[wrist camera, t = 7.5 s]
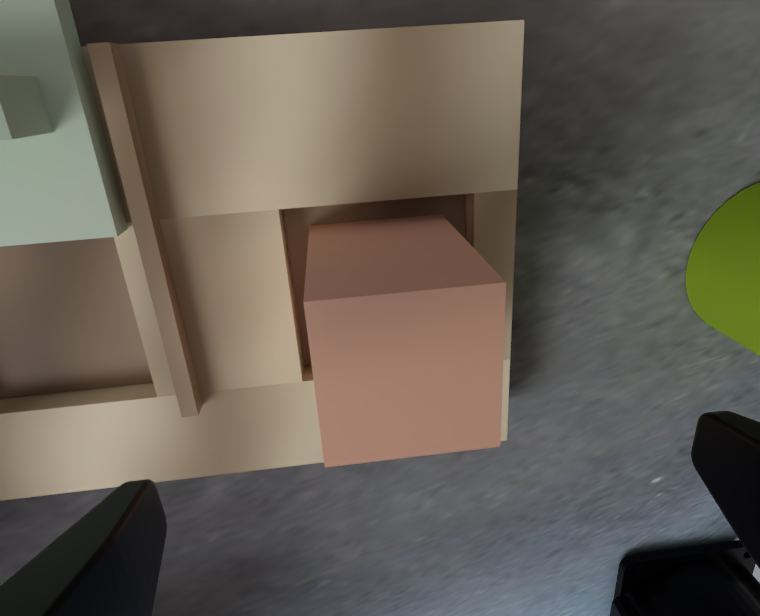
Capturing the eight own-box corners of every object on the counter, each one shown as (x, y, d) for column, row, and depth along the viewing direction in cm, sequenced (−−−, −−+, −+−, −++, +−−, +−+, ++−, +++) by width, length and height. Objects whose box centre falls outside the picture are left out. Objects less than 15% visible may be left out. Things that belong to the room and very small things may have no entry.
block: (441, 214, 16) (506, 282, 10) (443, 332, 17) (500, 446, 12) (309, 226, 16) (303, 301, 10) (323, 345, 17) (325, 467, 12)
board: (499, 28, 15) (533, 16, 13) (489, 408, 20) (512, 451, 18) (-171, 68, 14) (-273, 65, 11) (2, 463, 19) (-44, 518, 16)
